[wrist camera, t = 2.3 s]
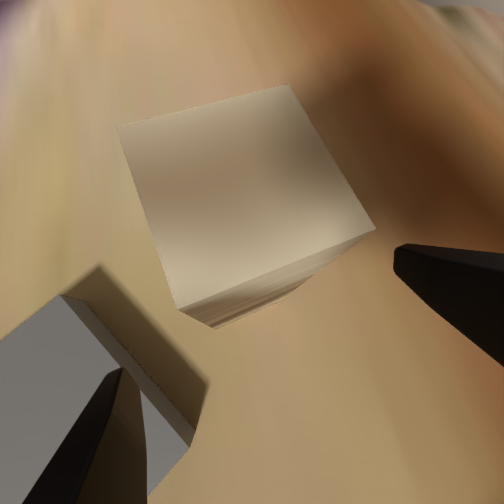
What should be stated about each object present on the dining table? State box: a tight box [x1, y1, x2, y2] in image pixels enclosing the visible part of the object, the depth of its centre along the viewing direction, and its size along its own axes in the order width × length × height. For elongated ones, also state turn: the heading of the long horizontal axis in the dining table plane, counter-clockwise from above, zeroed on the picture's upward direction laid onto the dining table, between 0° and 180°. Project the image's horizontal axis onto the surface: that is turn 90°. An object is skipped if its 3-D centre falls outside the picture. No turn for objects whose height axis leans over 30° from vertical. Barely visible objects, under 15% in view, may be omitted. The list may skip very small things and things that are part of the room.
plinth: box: [0, 295, 196, 504], centre depth 13 cm, size 11×11×2 cm
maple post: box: [116, 84, 376, 329], centre depth 12 cm, size 5×5×13 cm
